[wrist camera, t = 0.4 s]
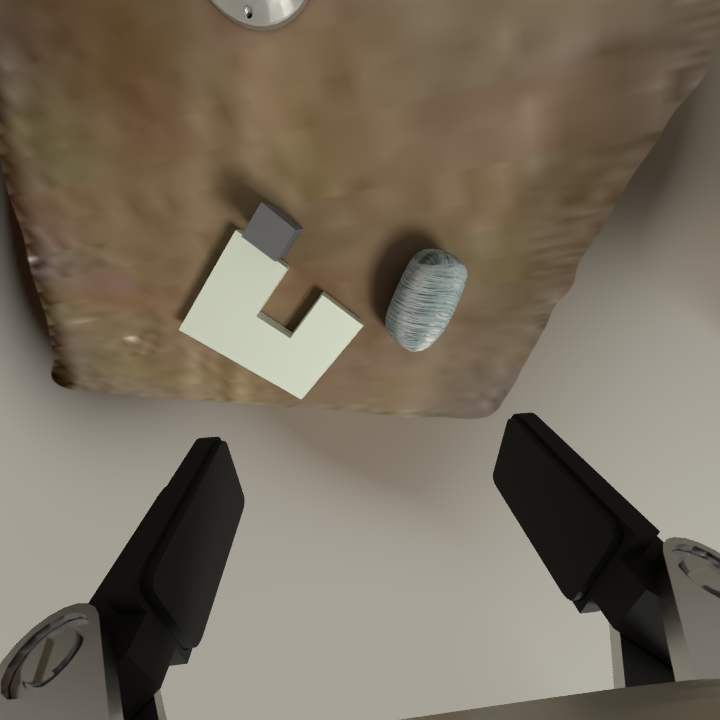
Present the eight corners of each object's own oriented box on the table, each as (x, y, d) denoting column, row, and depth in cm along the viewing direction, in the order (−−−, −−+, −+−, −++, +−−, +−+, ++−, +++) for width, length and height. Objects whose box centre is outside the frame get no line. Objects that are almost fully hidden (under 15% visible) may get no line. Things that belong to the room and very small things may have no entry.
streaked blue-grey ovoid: (408, 225, 33) (456, 270, 28) (454, 247, 39) (502, 287, 34) (358, 312, 41) (387, 360, 36) (402, 319, 47) (433, 362, 41)
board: (187, 323, 40) (178, 329, 38) (241, 229, 35) (235, 229, 33) (302, 391, 47) (301, 399, 44) (361, 320, 42) (363, 325, 40)
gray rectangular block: (259, 233, 35) (241, 236, 28) (276, 206, 34) (261, 202, 27) (286, 254, 37) (275, 261, 30) (303, 228, 35) (295, 230, 28)
